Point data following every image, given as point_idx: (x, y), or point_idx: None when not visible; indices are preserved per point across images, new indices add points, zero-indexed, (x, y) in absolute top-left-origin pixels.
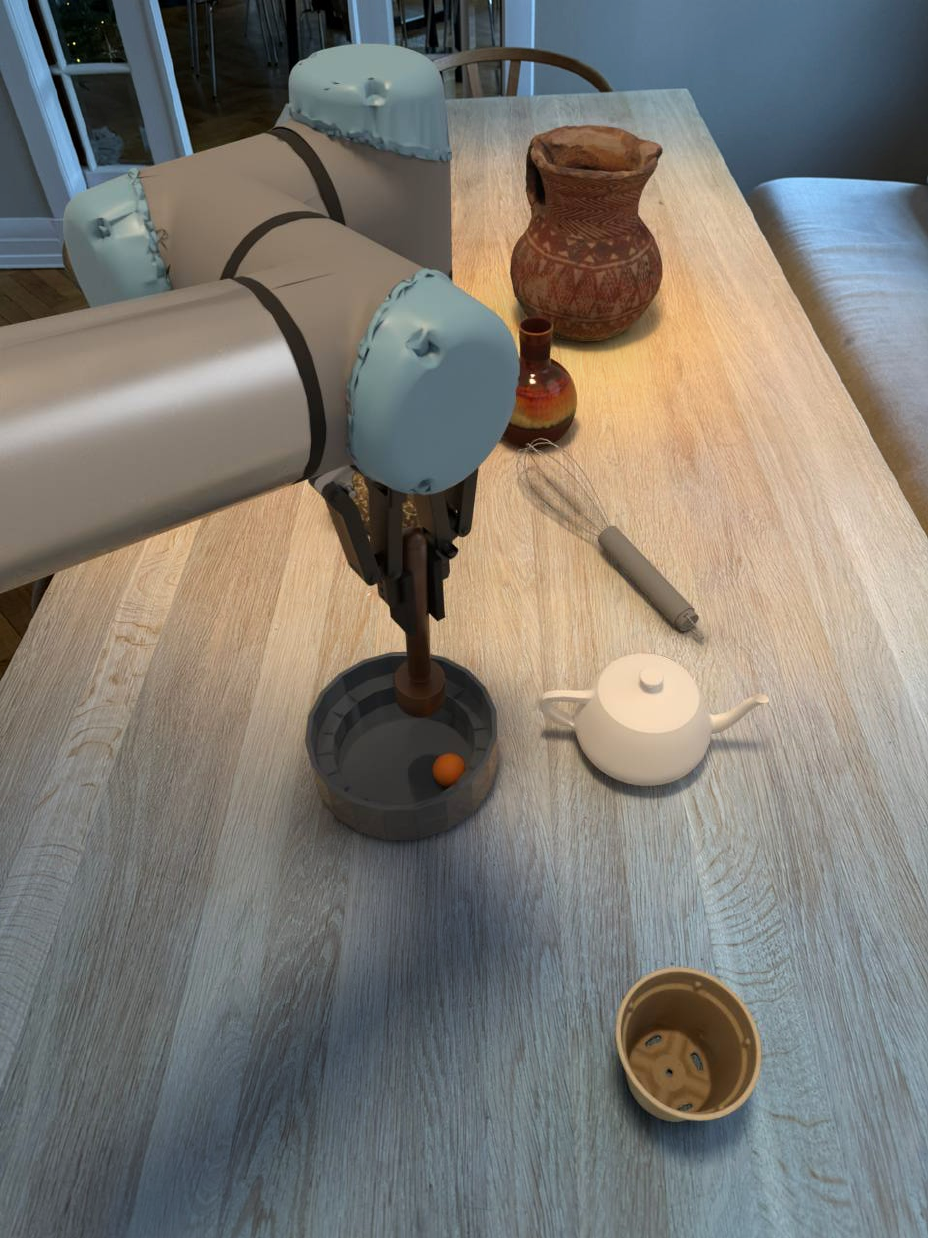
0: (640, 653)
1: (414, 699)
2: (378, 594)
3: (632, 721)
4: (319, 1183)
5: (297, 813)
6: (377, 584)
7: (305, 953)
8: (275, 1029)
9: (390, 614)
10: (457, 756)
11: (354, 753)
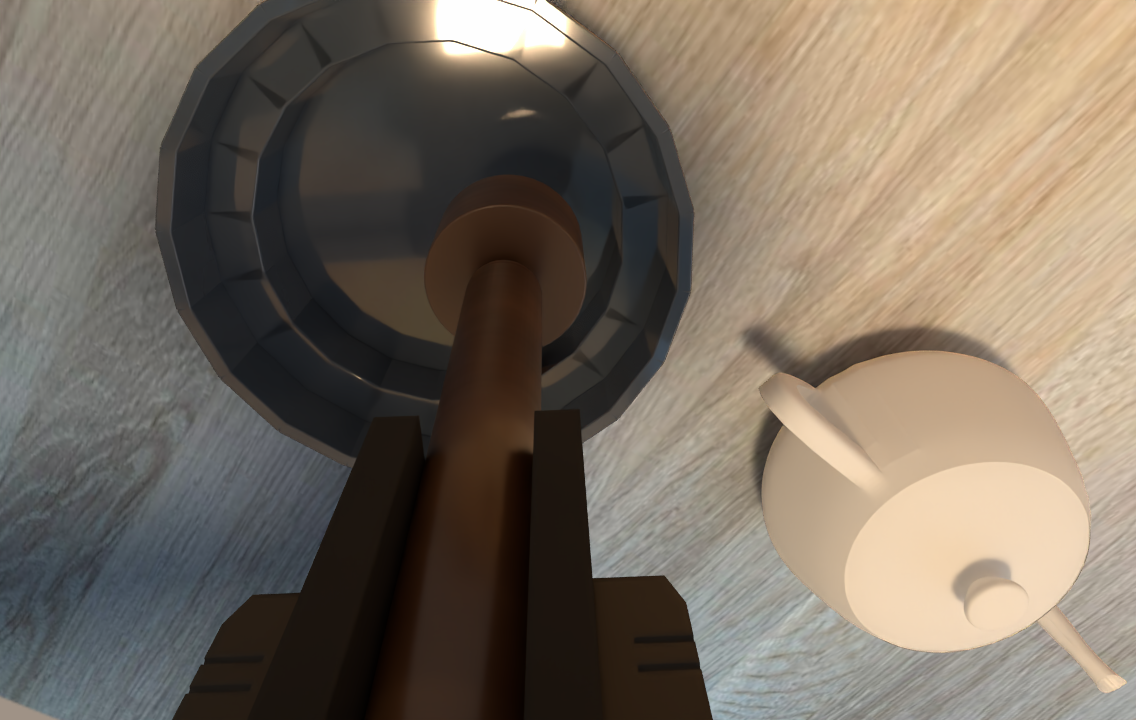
0: (1058, 480)
1: (452, 333)
2: (220, 629)
3: (867, 603)
4: (47, 680)
5: None
6: (180, 713)
7: (102, 444)
8: (24, 514)
9: (370, 428)
10: None
11: (341, 134)
